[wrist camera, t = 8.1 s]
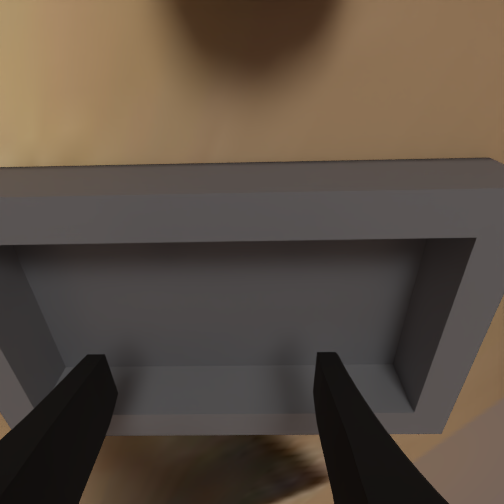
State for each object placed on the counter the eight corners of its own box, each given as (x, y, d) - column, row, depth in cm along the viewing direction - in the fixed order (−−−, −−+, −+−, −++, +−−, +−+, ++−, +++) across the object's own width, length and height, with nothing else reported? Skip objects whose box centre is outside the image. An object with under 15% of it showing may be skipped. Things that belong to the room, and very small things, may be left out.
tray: (489, 157, 12) (551, 187, 10) (415, 379, 19) (441, 433, 16) (-58, 168, 13) (-137, 199, 10) (48, 382, 19) (16, 436, 16)
